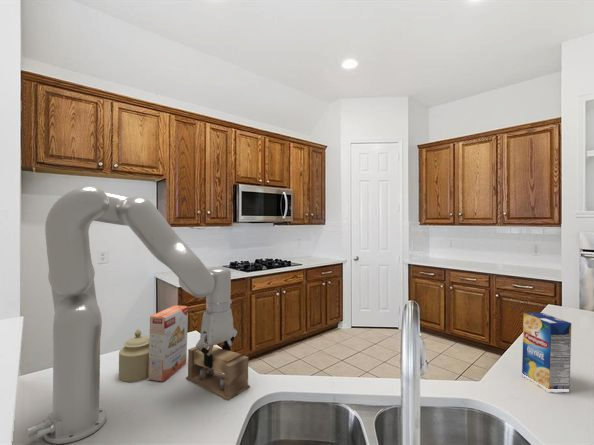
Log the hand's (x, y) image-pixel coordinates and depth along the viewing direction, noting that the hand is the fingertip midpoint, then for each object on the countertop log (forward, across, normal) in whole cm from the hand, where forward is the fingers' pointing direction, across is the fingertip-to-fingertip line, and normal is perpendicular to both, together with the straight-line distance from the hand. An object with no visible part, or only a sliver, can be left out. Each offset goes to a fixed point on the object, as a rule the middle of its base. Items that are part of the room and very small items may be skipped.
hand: (217, 361), depth 100 cm
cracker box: (+7, +5, -19) cm, 21 cm away
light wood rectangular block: (+1, 0, 0) cm, 1 cm away
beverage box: (+7, -66, +85) cm, 108 cm away
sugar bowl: (+7, +11, -27) cm, 30 cm away
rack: (+7, 0, 0) cm, 7 cm away
